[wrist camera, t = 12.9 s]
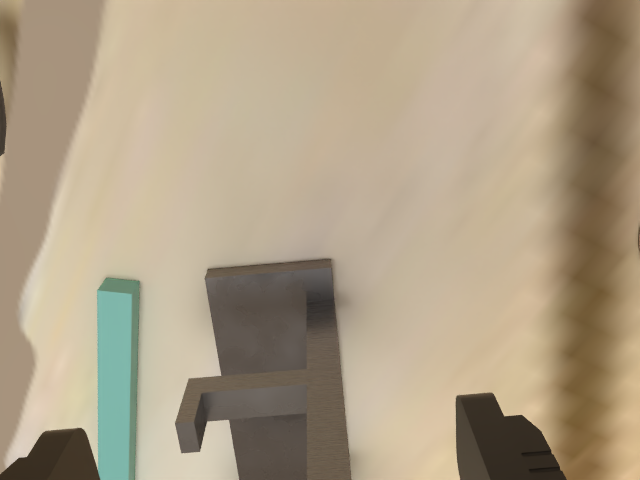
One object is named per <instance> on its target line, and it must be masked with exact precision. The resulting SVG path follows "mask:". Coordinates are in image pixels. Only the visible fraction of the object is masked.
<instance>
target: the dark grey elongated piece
mask: <svg viewBox="0 0 640 480" xmlns="http://www.w3.org/2000/svg"><path fill="white" fill-rule="evenodd" d="M5 137H6V116H5V105H4V98H3V93H2V87H1V82H0V156H1V155H2V154H4V150H5Z"/></svg>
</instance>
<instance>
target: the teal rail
mask: <svg viewBox="0 0 640 480" xmlns="http://www.w3.org/2000/svg"><path fill="white" fill-rule="evenodd" d="M138 322H139V281H132V280H123V279H114V278H106V279H105V280H104V282H103V283H102V285H101V286H100V287H99V289H98V290H97V326H98V473H99V476H100V480H135V449H136V407H137V365H138Z"/></svg>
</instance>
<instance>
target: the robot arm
mask: <svg viewBox="0 0 640 480" xmlns="http://www.w3.org/2000/svg"><path fill="white" fill-rule="evenodd" d="M639 248H640V233H639ZM456 449H457V463H458V470H459V475H460V480H567V479H566V477H565V476H564V474H563V472H562V471H561V470H560V466H559V464H558V462H557V460H556V459H555V457H554V455H553V454H552V453H551V449H550V447H549V445H548V444H547V442H546V440H545V438H544V436H543V434H542V432H541V431H540V430H539V429H538V428H537V427H536V426H534V425H533V424H532V423H531V422H530V421H528V420H527V419H526V418H525V417H524V416H522V415H516V416H505V417H504V415H503V413H502V411H501V409H500V407H499V404H498V402H497V400H496V398H495V396H494V394H493V393H480V394H469V395H458V396H457V397H456ZM0 480H100V476H99V473H98V470H97V467H96V463H95V460H94V457H93V453H92V450H91V447H90V444H89V440H88V437H87V434H86V432H85V431H84V430H83V429H82V428H74V429H63V430H51V431H45V432H44V433H42V434H41V436H40V437H39V439H38V440H37V442H36V444H35V445H34V447H33V448H32V450H31V452H30V453H29V455H28V456H27V457H24V458H18V459H17V460H16V461H15V462H14V463H13V464H11V465H10V466H9V467H8V468H7V469H6V470H5V471H4V472H2V473H1V474H0Z"/></svg>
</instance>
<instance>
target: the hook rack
mask: <svg viewBox="0 0 640 480" xmlns="http://www.w3.org/2000/svg"><path fill="white" fill-rule="evenodd" d="M205 282H206V288H207V294H208V300H209V305H210V311H211V317H212V323H213V329H214V335H215V340H216V346H217V352H218V358H219V364H220V370H221V375H222V376H215V377H203V378H191V379H189V380H188V383H187V386H186V390H185V393H184V396H183V399H182V403H181V406H180V409H179V412H178V416H177V419H176V422H175V425H176V430H177V435H178V439H179V444H180V449H181V453H190V452H200V449H201V445H202V440H203V436H204V432H205V427H206V423H207V421H217V420H229V422H230V428H231V434H232V439H233V445H234V451H235V457H236V463H237V469H238V474H239V480H351V471H350V460H349V450H348V439H347V429H346V419H345V408H344V398H343V387H342V377H341V366H340V356H339V345H338V335H337V325H336V314H335V304H334V292H333V280H332V268H331V259H326V260H314V261H302V262H290V263H278V264H266V265H254V266H242V267H230V268H218V269H208V271H207V274H206V276H205Z"/></svg>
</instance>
